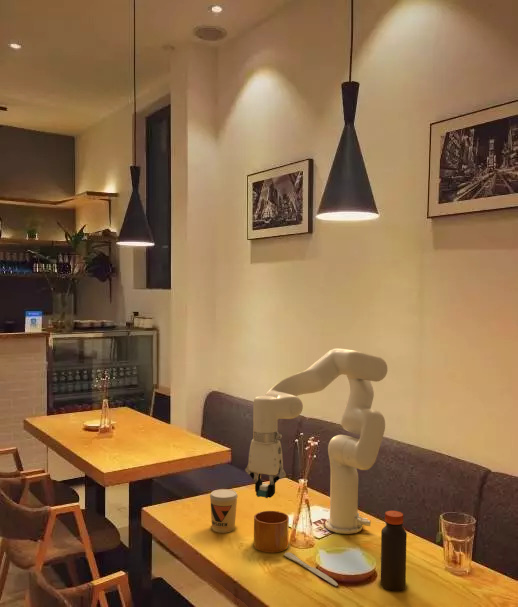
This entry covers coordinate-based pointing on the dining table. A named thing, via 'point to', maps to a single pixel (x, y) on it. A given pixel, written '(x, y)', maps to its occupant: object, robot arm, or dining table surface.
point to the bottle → (393, 552)
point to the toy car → (263, 491)
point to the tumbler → (271, 531)
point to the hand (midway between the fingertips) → (265, 494)
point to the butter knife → (310, 568)
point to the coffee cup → (223, 510)
